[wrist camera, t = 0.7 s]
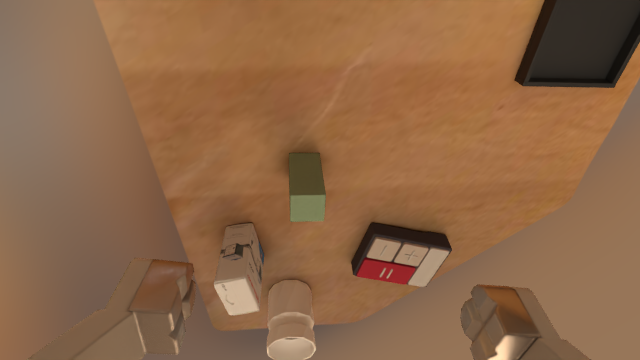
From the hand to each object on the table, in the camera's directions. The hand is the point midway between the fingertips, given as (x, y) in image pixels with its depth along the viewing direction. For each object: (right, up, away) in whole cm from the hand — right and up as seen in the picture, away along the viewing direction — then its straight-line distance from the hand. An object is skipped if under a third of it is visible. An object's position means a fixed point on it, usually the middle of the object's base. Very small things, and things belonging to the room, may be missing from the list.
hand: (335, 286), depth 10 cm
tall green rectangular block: (-3, +5, +44) cm, 45 cm away
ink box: (-14, -8, +53) cm, 55 cm away
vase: (-6, -20, +63) cm, 66 cm away
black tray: (+33, +22, +35) cm, 53 cm away
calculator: (+14, -10, +57) cm, 60 cm away
